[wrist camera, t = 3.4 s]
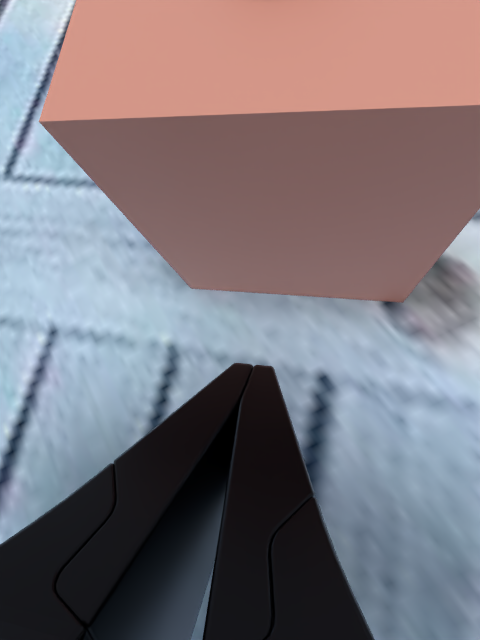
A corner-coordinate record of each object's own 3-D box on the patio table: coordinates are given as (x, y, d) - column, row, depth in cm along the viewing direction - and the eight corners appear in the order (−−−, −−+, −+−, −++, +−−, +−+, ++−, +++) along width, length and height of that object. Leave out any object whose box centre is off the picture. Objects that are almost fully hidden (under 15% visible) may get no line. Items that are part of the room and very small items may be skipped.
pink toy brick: (402, 303, 16) (627, 26, 5) (191, 289, 18) (-6, 72, 7) (409, 41, 20) (548, -483, 8) (231, 54, 22) (145, -351, 10)
